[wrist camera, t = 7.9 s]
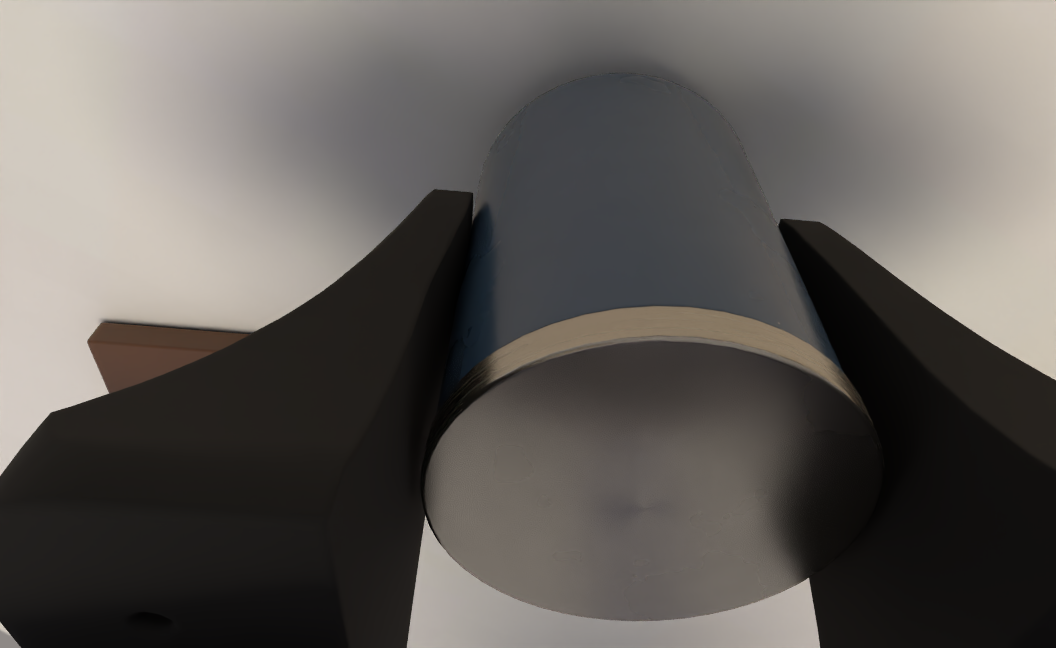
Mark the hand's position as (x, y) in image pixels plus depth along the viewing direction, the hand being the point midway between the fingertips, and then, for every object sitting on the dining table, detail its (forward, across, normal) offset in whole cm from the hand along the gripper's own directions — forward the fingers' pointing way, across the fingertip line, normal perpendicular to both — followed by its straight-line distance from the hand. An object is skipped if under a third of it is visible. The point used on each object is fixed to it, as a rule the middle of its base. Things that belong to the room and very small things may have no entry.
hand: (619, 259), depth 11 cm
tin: (+2, 0, 0) cm, 2 cm away
